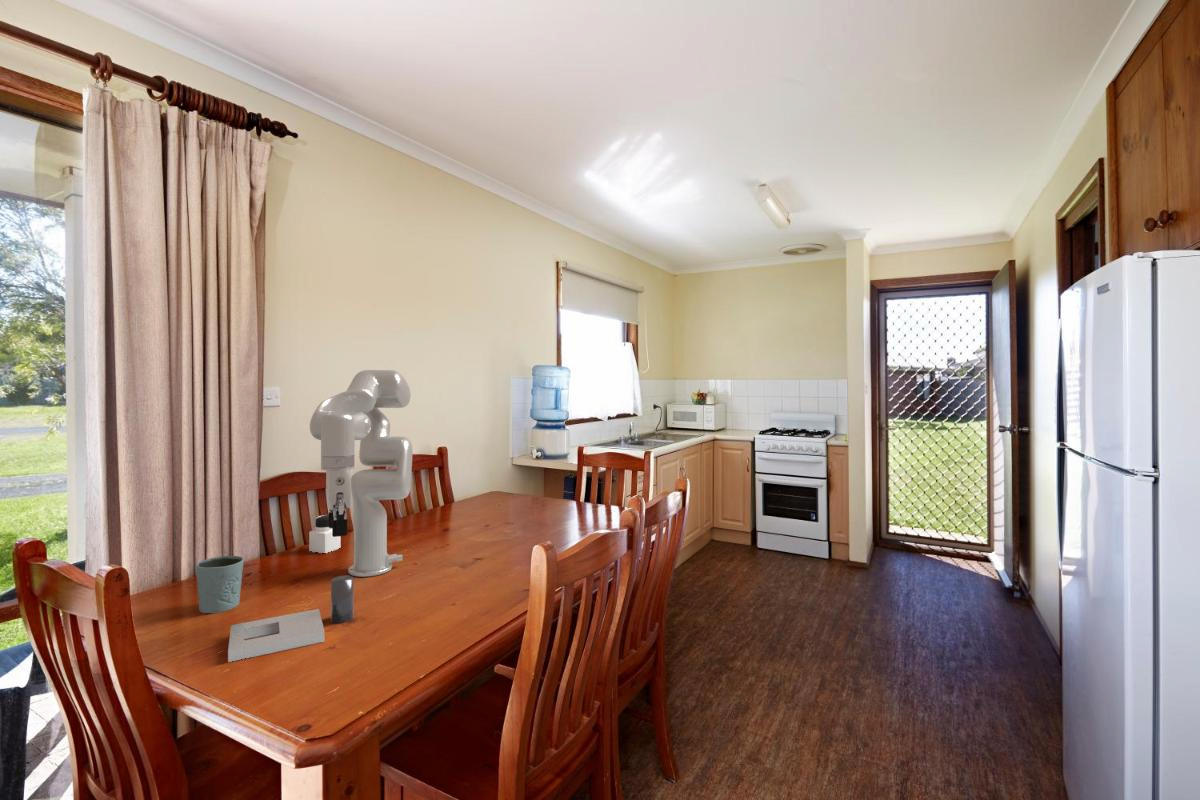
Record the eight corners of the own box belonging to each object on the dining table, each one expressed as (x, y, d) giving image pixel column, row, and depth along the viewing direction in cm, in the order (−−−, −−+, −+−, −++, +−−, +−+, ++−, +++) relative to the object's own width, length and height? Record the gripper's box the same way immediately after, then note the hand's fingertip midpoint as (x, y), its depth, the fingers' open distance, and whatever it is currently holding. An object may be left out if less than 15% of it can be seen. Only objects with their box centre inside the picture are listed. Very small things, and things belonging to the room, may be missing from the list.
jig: (318, 618, 135) (318, 608, 135) (324, 641, 123) (324, 630, 123) (231, 635, 125) (231, 625, 125) (228, 662, 114) (228, 650, 113)
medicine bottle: (341, 548, 193) (340, 514, 192) (324, 554, 186) (324, 519, 185) (325, 546, 195) (325, 513, 195) (308, 552, 188) (308, 517, 188)
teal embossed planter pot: (193, 606, 142) (193, 560, 141) (239, 596, 149) (239, 552, 148) (200, 618, 134) (200, 570, 134) (248, 607, 142) (247, 561, 141)
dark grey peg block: (351, 613, 139) (351, 574, 138) (354, 620, 134) (354, 580, 134) (330, 617, 136) (330, 577, 136) (332, 624, 132) (332, 584, 131)
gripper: (359, 465, 130) (358, 537, 130) (350, 458, 144) (349, 523, 145) (323, 467, 126) (323, 541, 126) (318, 460, 141) (318, 526, 141)
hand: (337, 531), depth 135 cm, fingers open, 9 cm apart
